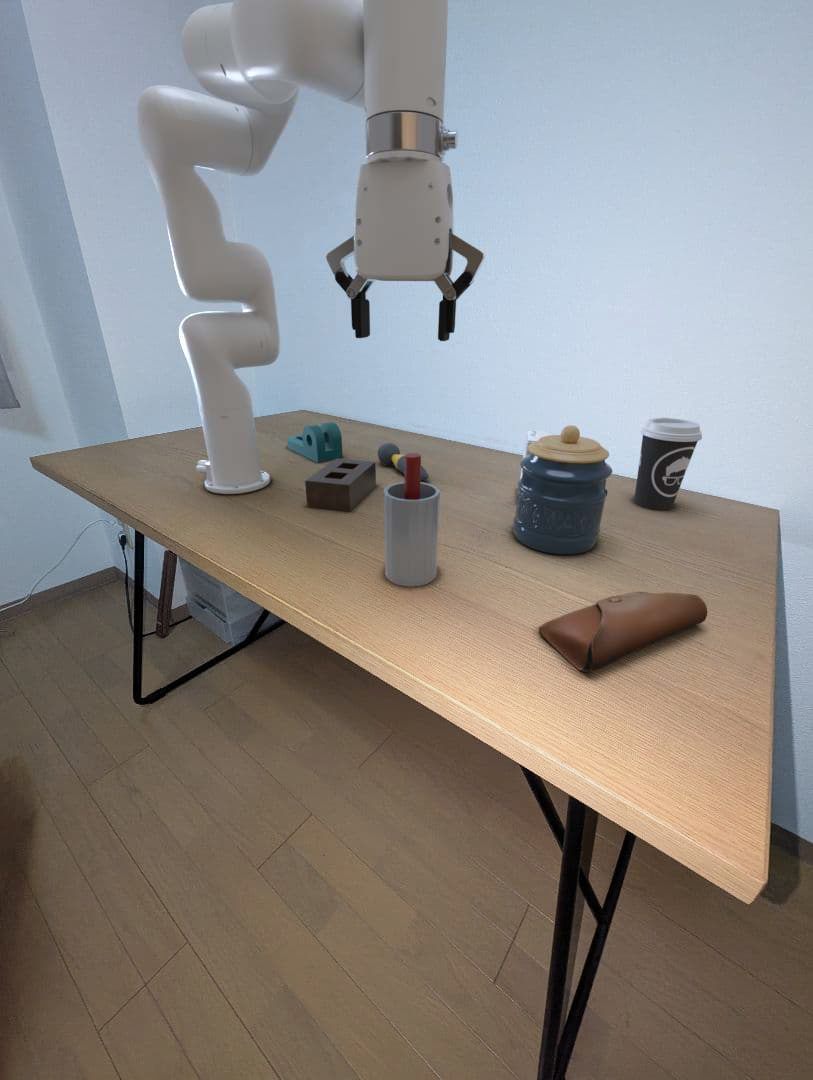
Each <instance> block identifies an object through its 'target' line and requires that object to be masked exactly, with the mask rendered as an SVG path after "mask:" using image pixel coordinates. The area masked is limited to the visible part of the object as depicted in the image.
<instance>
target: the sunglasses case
mask: <svg viewBox="0 0 813 1080" xmlns="http://www.w3.org/2000/svg"><path fill="white" fill-rule="evenodd" d="M707 617H708V607H707V605H706V603H705V601H704V600H703V599H702V597H700V596H699V595H697V594H696V595H695V594H693V593H683V592H682V593H680V592H679V593H678V592H646V591H633V592H628V593H625V594H617V595H612V596H608V597H605V598H602V599H599V600H597V601H596V603H595V604H592V605H589V606H585V607H583V608H580V609H577V610H574V611H571V612H569V613H566V614H563V615H560V616H558V617H556V618H552V619H551V620H548V621H546V622H544V623H542V624H541V625H540V626H538V631H539V632H538V633H540V635H541V636H542V637H543V638H544V639H545V641H547V643H548V644H549V645H550V646H551V647H552V648H553V649H554V650H555V651H556V652H557V653H558V654H559V655H560V656H562V657H563V658H564V659H565V660H566V661H567V662H568V663H569V664H570V665H571V666H573V668H575V669H576V670H577V671H578V672H582V673H589V672H591V671H596V670H598V669H601V668H603V667H605V666H608V665H610V664H612V663H613V662H615V661H617V660H619V659H621V658H623V657H625V656H627V655H629V654H632V653H634V652H636V651H638V650H639V649H642V648H645V647H646V646H650V645H652V644H654V643H656V642H659V641H661V640H663V639H665V638H667V637H670V636H673V635H675V634H678V633H680V632H682V631H684V630H687V629H691V628H692V627H695V626H697V625H700V624H702V623H704V622H706V619H707Z"/></svg>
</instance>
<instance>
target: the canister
mask: <svg viewBox="0 0 813 1080" xmlns="http://www.w3.org/2000/svg"><path fill="white" fill-rule="evenodd" d="M528 450H529V452H530V454H529V455H528V456H526V457H524V458H523V457H522V459H521V460H520V462H519V464H520V467H521V469H523V475H522V478H521V479H520V478H519V480H518V482H517V486H518V487H517V488H518V490H517V498H516V507H515V514H514V517H513V522H512V523H513V524H512V525H513V534H514V537H515V538H516V540H518V541H519V542H520V543H521V544H523V545H525V547H528V548H530V549H532V550H536V551H539V552H542V553H546V554H547V553H548V554H553V555H554V554H555V555H578V554H582V553H585V552H588V551H590V550H592V549H593V548H594V547H595V545H596V544H597V543H596V542H597V541H598V539H599V536H600V533H601V532H600V531H601V527H600V525H601V521H602V517H603V512H604V507H605V502H606V497H607V496H608V493H609V492H608V489H607V487H606V486H607V479H608V478H609V477H610V476H611V475H612V474H613V468H612V467H611V465H610V464H608V463H607V461H606V460H607V459H608V458H609V457H610V453H609V451H608V449H606V448H605V447H603V446H602V445H601V443H600V442H599V441H597V440H594V439H592V438H589V437H584V436H581V431H580V429H579V428H578V427H577V426H576V425H572V424H570V425H566V426H564V427H563V428H562V430H561V432H560V434H553V435H550V436H544V437H542V438H540V439H539V440H538V441H536V442H533V443H531V444H530V445H529V446H528Z"/></svg>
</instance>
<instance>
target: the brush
mask: <svg viewBox="0 0 813 1080" xmlns="http://www.w3.org/2000/svg"><path fill="white" fill-rule="evenodd" d="M404 455H405V474H404V482H405V484H404V499H407V500H418V499H420V486H421V482H422V480H421V466H422V455H421V454H420V453H418V452H409V453H405V454H404Z"/></svg>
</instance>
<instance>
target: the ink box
mask: <svg viewBox="0 0 813 1080" xmlns="http://www.w3.org/2000/svg"><path fill="white" fill-rule="evenodd" d="M550 435H554V434H553V432H547V431H541V430H527V431H526V437H525V443H524V450H523V457H522V459H523V458H524V457H526V456H528V455H529V454H530V452H529V450H528V446H529V445H530V444H531V443H533V442H536V441H538V440H539V439H540V438H542V437H544V436H550ZM522 475H523V469H522V468H521V469H520V476H519V480H520V479H521V478H522Z"/></svg>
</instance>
